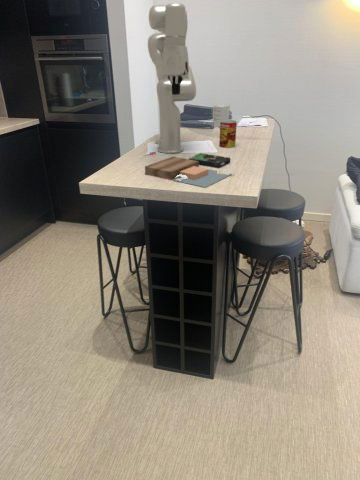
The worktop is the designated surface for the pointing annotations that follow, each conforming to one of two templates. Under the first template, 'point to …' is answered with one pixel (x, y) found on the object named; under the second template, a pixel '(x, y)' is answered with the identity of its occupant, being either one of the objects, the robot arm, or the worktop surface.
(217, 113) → the supplement box
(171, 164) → the block
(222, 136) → the canned food
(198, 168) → the terracotta tile
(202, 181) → the slate mat
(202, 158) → the disk drive
